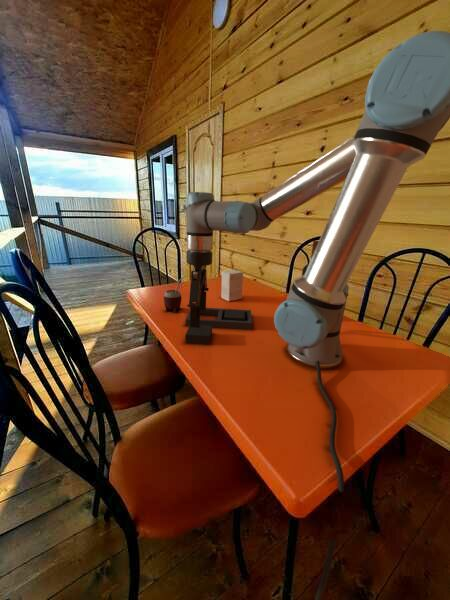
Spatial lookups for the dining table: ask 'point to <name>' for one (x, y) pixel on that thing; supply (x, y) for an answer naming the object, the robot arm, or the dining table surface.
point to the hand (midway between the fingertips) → (198, 317)
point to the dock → (223, 323)
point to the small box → (232, 285)
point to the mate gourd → (173, 299)
